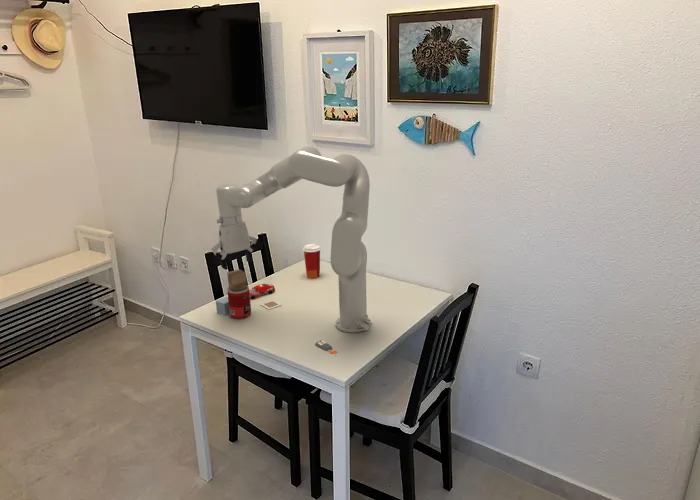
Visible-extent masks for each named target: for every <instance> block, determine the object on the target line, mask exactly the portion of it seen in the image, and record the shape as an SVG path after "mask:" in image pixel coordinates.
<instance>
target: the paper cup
mask: <svg viewBox="0 0 700 500" xmlns="http://www.w3.org/2000/svg"><path fill="white" fill-rule="evenodd" d="M321 249H322V248H321V246H320V245H319V244H317V243H308V244H306V245H304V246H303V248H302V250H303V256H304V263H305V264H304V265H305V273H306V278H307V279H310V280H312V279H313V280H315V279H319V278H320V276H321Z"/></svg>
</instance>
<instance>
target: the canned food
mask: <svg viewBox="0 0 700 500" xmlns="http://www.w3.org/2000/svg"><path fill="white" fill-rule="evenodd" d="M249 290H250V287H249V285H247V288H246V289H243V290H239V291H236V292H235V291H233V290H232V289H230V288H229V286H228V287H227V291H226V293H227V297H228V302H229V310H230V314H229V315H230V317H231V318H232V319H236V320H244V319H246V318H247V319H248V318H249V317H250V316H251V314H252V306H251V299H250V292H249Z"/></svg>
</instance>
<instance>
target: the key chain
mask: <svg viewBox="0 0 700 500" xmlns="http://www.w3.org/2000/svg"><path fill="white" fill-rule="evenodd" d="M314 345H315V347H317V348H320V349H322V350H323V351H325V352H326V351H327V352H329V353H330V354H331V355H334V356H335V357H338V355H337V354H338V350H336V349H335V350H333V346H332V344H331V345H330V344H329V343H327V342H326V341H325V340H319V341H317V342H315V344H314Z"/></svg>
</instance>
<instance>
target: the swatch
mask: <svg viewBox="0 0 700 500" xmlns="http://www.w3.org/2000/svg"><path fill="white" fill-rule="evenodd" d="M260 306H262V307H263V308H265V309H266V310H272V309H276V308H279V307H282V303H280V302H279V301H276V300H275V299H272V300H270V301H267V302H263V303H261V304H260Z"/></svg>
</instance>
